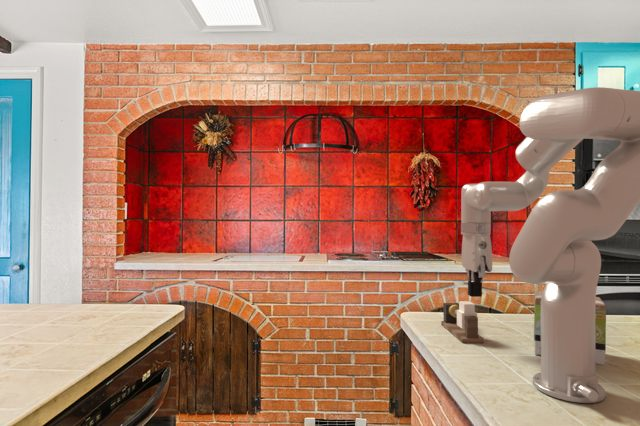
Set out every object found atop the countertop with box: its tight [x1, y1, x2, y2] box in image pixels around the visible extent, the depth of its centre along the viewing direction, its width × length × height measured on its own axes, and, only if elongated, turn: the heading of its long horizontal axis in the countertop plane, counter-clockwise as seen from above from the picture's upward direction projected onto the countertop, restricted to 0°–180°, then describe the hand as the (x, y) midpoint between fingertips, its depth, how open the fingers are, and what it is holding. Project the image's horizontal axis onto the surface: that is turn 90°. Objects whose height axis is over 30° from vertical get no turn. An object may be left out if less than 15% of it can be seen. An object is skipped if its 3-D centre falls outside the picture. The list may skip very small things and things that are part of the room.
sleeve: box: [457, 300, 478, 329], centre depth 115 cm, size 4×4×7 cm
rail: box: [441, 302, 485, 344], centre depth 120 cm, size 18×6×7 cm, turn 1°
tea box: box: [533, 291, 607, 366], centre depth 102 cm, size 15×10×15 cm, turn 62°
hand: (474, 295), depth 109 cm, fingers closed
